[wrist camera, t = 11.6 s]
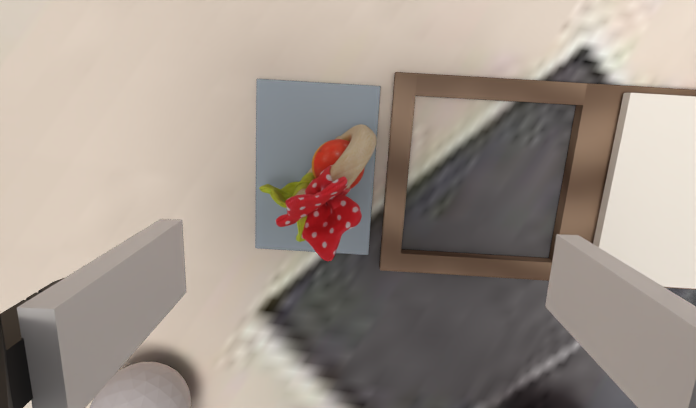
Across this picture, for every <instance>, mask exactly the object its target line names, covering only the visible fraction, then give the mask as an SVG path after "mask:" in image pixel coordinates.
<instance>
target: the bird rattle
mask: <svg viewBox="0 0 696 408" xmlns="http://www.w3.org/2000/svg"><path fill="white" fill-rule="evenodd" d="M376 140H377V139H376V135H375V134H374V132H373V131H372V130H371V129H370V128H369V127H367V126H366V125H362V124H360V125H356V126H354V127H352V128H350V129H349V130H348V131H346V132H345V133H344V134H342V135H341V136H338V137H337V138H336V139H335V140H330V141H327V142H325V143H324V144H322V145H321V146H320V147H319V148H318V149H317V151H316V152H315V154H314V156H313V159H312V167H311V169H310V170H309V171H308V173H307V174H306V175H304V176H303V177H302V179H301V181H299V182H291V183H288V184H287V185H286V186H285V187H283V188H282V189H279V188H276V187H274V186H272V185H270V184H265V185H263V186H261V187H259V189H260V190H261V191H262V192H264V193H268V194H270V196H271V197H272V199H273V200H274V201H275V202H276V203H277V204H278V205H280V206H281V207H284V208H287V214H285V215H281V216H279V217H278V218H277V219H276V220H275V222H276V224H277V225H278V226H279V227H285V226H289V225H292V224H295V223H296V222H297V228H298V235H297V236H296V240H297V241H298V242H302V241H305V240H306V241H307V242H308V243H309V244H310V245H311V246H312V247H313V249H314V250H315V251H316V253H317V254H318V255H319V256H320V257H321V258H322V259H323V260H325V261H331V260H332V259H333V258H334V256H335V253H336V250H337V248H338V245H339V242H340V239H341V236H342V234H343V233H344V232H345V231H346V230H348V229H351V228H353V227H355V226H356V225H358V224H359V222H360V221H361V218H362V214H361V211H360V207H359V205H358V204H357V203H356V202H354V201H353V200H352V199H350V198H349V197H347V196H345V195H346V194H347V193H348V192H349V191H350V190H351V188H353V187H354V186H356V185H357V184H358V183H359V181H360V180H361V178H362V176H363V173H364V169H365V166H366V164H367V163H368V161H369V160H370V158H371V156H372V154H373V152H374V150H375V147H376Z"/></svg>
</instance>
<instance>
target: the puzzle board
mask: <svg viewBox="0 0 696 408" xmlns="http://www.w3.org/2000/svg"><path fill="white" fill-rule="evenodd" d="M624 93H645V94H662V95H678V96H695V97H696V90H689V89H672V88H655V87H639V86H622V85H605V84H588V83H571V82H554V81H537V80H521V79H504V78H487V77H470V76H453V75H436V74H419V73H403V72H396V73H395V78H394V90H393V102H392V115H391V127H390V140H389V152H388V165H387V177H386V190H385V202H384V215H383V227H382V240H381V252H380V265H379V266H380V270H383V271H400V272H416V273H433V274H449V275H466V276H482V277H499V278H516V279H532V280H549V279H550V273H551V266H552V260H553V254H554V247H555V241H556V235H557V234H560V235H579V236H581V237H582V238H584V239H586V240H587V241H589V242H591V243H592V244H593V241H594V237H595V232H596V227H597V222H598V217H599V212H600V207H601V202H602V197H603V192H604V187H605V183H606V178H607V173H608V168H609V163H610V158H611V153H612V148H613V143H614V138H615V133H616V129H617V124H618V119H619V114H620V109H621V104H622V99H623V94H624ZM415 95H416V96H433V97H450V98H467V99H483V100H500V101H517V102H534V103H551V104H567V105H576V109H575V115H574V121H573V126H572V132H571V137H570V143H569V148H568V154H567V160H566V165H565V171H564V176H563V182H562V188H561V193H560V199H559V204H558V210H557V215H556V221H555V227H554V232H553V238H552V243H551V249H550V254H549V258H537V257H521V256H504V255H487V254H471V253H454V252H438V251H421V250H405V249H401V245H402V234H403V224H404V213H405V202H406V191H407V180H408V169H409V158H410V148H411V137H412V126H413V115H414V104H415ZM665 288H674V287H665ZM681 289H691V288H681Z"/></svg>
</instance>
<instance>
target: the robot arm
mask: <svg viewBox="0 0 696 408" xmlns="http://www.w3.org/2000/svg"><path fill="white" fill-rule="evenodd" d="M185 293H186V277H185V259H184V242H183V225H182V220H171V219H160V220H158V221H157V222H155V223H153V224H152V225H150V226H148V227H147V228H145V229H144V230H142V231H140V232H139V233H137V234H135V235H134V236H132V237H131V238H129V239H127V240H126V241H124V242H122V243H121V244H119V245H118V246H116V247H114V248H113V249H111V250H109V251H108V252H106V253H105V254H103V255H101V256H100V257H98V258H96V259H95V260H93V261H92V262H90V263H88V264H87V265H85V266H83V267H82V268H80V269H78V270H77V271H75V272H74V273H72V274H70V275H69V276H67V277H65V278H63V279H60V280H57V281H55V282H52V283H51V284H49V285H47V286H46V287H44V288H42V289H41V290H39V292H38V293H34V294H33V295H31V296H29V297H28V298H26V300H23V301H21V302H19V303H18V304H16V305H14V306H13V307H11V308H9V309H8V310H6V311H4V312H3V313H1V314H0V408H23V407H24V406H25V405H26V404H27V403H28V402H29V401H30V400H32V407H33V408H85V407H86V406H87V405H88V404H89V403H90V402H91V401H92V399H93V398H94V397H95V396H96V395H97V394H98V393H99V391H100V390H101V389H102V388H103V387H104V386H105V385H106V384H107V382H108V381H109V380H110V379H111V378H112V377H113V376H114V374H115V373H116V372H117V371H118V370H119V369H120V368H121V366H122V365H123V364H124V363H125V362H126V361H127V360H128V358H129V357H130V356H131V355H132V354H133V353H134V352H135V350H136V349H137V348H138V347H139V346H140V345H141V344H142V342H143V341H144V340H145V339H146V338H147V337H148V336H149V334H150V333H151V332H152V331H153V330H154V329H155V328H156V326H157V325H158V324H159V323H160V322H161V321H162V320H163V318H164V317H165V316H166V315H167V314H168V313H169V312H170V310H171V309H172V308H173V307H174V306H175V305H176V304H177V302H178V301H179V300H180V299H181V298H182V297H183V296H184V294H185ZM545 307H546V308H547V309H548V310H549V311H550V312H551V313H552V314H553V316H554V317H555V318H556V319H557V320H558V321H559V322H560V323H561V324H562V325H563V326H564V328H565V329H566V330H567V331H568V332H569V333H570V334H571V335H572V336H573V337H574V338H575V340H576V341H577V342H578V343H579V344H580V345H581V346H582V347H583V348H584V349H585V350H586V352H587V353H588V354H589V355H590V356H591V357H592V358H593V359H594V360H595V361H596V362H597V364H598V365H599V366H600V367H601V368H602V369H603V370H604V371H605V372H606V373H607V374H608V376H609V377H610V378H611V379H612V380H613V381H614V382H615V383H616V384H617V385H618V386H619V388H620V389H621V390H622V391H623V392H624V393H625V394H626V395H627V396H628V397H629V398H630V400H631V401H632V402H633V403H634V404H635V405H636V406H637V407H638V408H696V306H694V305H692V304H691V303H689V302H688V301H686V300H684V299H683V298H681V297H679V296H678V295H676V294H674V293H673V292H671V291H669V290H668V289H666V288H665V287H663V286H661V285H660V284H658V283H656V282H655V281H653V280H651V279H650V278H648V277H646V276H645V275H643V274H642V273H640V272H638V271H637V270H635V269H633V268H632V267H630V266H628V265H627V264H625V263H623V262H622V261H620V260H618V259H617V258H615V257H614V256H612V255H610V254H609V253H607V252H605V251H604V250H602V249H600V248H599V247H597V246H595V245H594V244H592V243H591V242H589V241H587V240H586V239H584V238H582V237H581V236H579V235H560V234H557V235H556V241H555V247H554V254H553V260H552V266H551V273H550V279H549V286H548V292H547V298H546V305H545Z"/></svg>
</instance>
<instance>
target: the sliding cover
mask: <svg viewBox="0 0 696 408" xmlns="http://www.w3.org/2000/svg"><path fill="white" fill-rule="evenodd" d="M593 244H594V245H595V246H597V247H599V248H600V249H602V250H604V251H605V252H607V253H609V254H610V255H612V256H614V257H615V258H617V259H618V260H620V261H622V262H623V263H625V264H627V265H628V266H630V267H632V268H633V269H635V270H637V271H638V272H640V273H642V274H643V275H645V276H646V277H648V278H650V279H651V280H653V281H655V282H656V283H658V284H660V285H661V286H663V287H674V288H691V289H696V97H695V96H678V95H662V94H645V93H624V94H623V99H622V104H621V109H620V114H619V119H618V124H617V129H616V133H615V138H614V143H613V148H612V153H611V158H610V163H609V168H608V173H607V178H606V183H605V187H604V192H603V197H602V202H601V207H600V212H599V217H598V222H597V227H596V232H595V237H594V241H593Z"/></svg>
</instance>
